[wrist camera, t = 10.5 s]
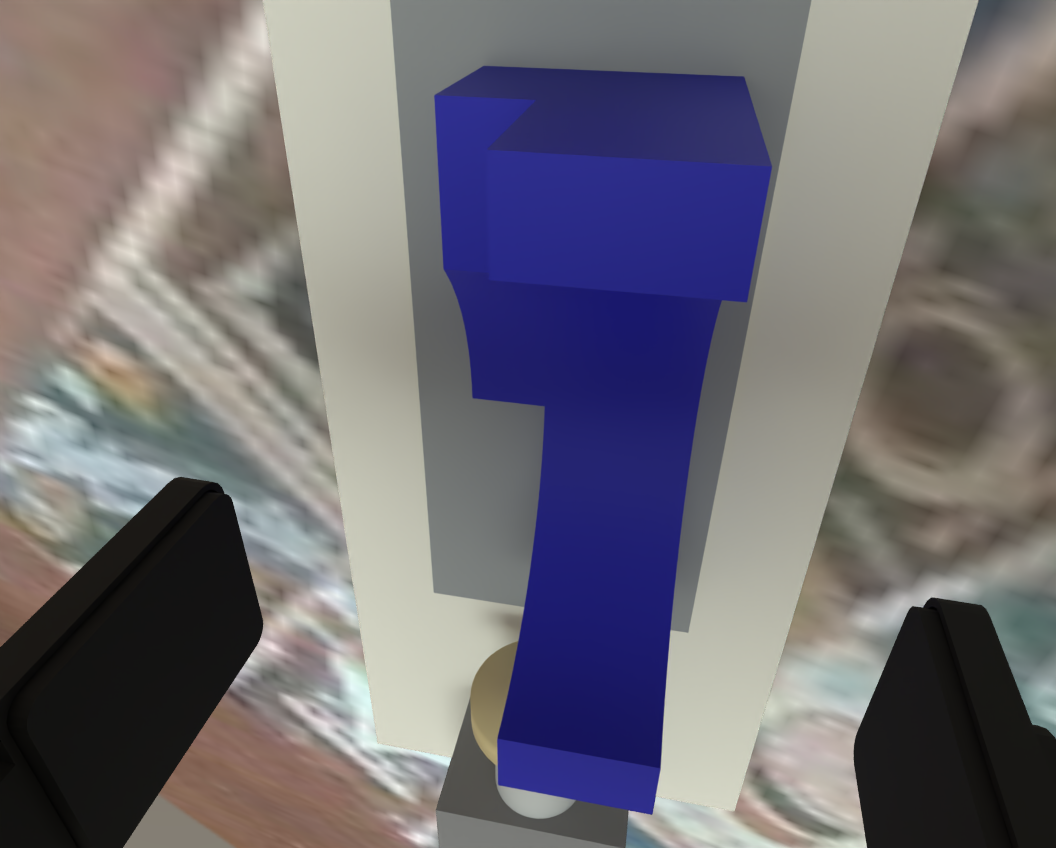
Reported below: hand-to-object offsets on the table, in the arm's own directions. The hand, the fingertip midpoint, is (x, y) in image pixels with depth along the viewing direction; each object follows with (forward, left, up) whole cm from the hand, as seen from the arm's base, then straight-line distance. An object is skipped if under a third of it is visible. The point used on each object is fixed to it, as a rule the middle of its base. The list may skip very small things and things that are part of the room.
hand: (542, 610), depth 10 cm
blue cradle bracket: (0, 0, -7) cm, 7 cm away
